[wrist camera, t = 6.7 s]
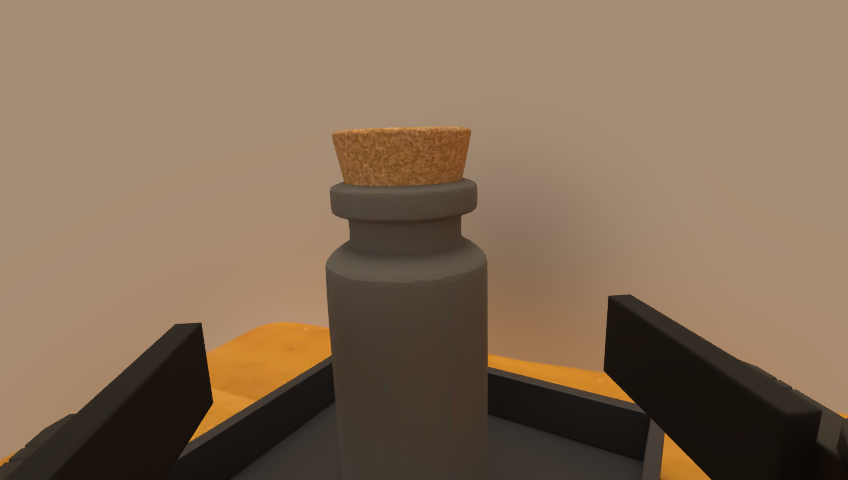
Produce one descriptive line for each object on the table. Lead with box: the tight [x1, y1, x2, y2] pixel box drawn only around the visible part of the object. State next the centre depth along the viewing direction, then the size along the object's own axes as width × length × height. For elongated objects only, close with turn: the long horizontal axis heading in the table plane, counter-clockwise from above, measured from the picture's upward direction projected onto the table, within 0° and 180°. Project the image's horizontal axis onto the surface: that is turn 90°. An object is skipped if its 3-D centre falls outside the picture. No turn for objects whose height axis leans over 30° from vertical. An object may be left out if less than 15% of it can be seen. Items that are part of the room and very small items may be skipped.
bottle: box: [326, 127, 488, 480], centre depth 17 cm, size 6×6×15 cm
